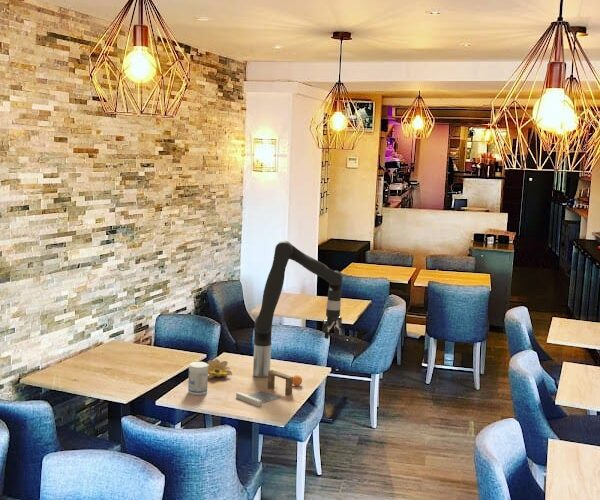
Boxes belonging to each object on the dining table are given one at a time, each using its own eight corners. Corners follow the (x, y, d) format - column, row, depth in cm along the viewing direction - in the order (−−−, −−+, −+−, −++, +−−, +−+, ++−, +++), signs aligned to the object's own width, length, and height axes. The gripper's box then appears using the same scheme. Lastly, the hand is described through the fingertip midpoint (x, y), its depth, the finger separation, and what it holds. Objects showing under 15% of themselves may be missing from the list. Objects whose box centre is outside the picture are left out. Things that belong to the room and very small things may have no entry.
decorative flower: (206, 379, 363) (206, 360, 364) (200, 377, 373) (200, 358, 375) (233, 378, 369) (233, 359, 370) (227, 377, 379) (227, 358, 380)
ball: (291, 387, 362) (292, 377, 361) (291, 383, 367) (291, 373, 367) (302, 387, 362) (302, 377, 361) (301, 383, 368) (302, 373, 367)
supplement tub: (184, 392, 348) (184, 364, 346) (198, 387, 355) (199, 360, 353) (197, 397, 342) (197, 368, 340) (211, 392, 349) (212, 364, 347)
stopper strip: (258, 406, 333) (259, 401, 332) (236, 397, 343) (236, 392, 343) (261, 405, 334) (261, 400, 334) (239, 396, 345) (239, 391, 344)
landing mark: (261, 404, 336) (261, 403, 336) (243, 396, 345) (243, 396, 345) (280, 397, 346) (280, 397, 346) (261, 390, 355) (261, 390, 355)
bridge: (288, 395, 349) (288, 378, 348) (267, 388, 359) (268, 371, 357) (292, 394, 351) (292, 376, 350) (271, 386, 361) (272, 369, 360)
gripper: (335, 304, 380) (333, 333, 383) (319, 308, 369) (317, 337, 372) (346, 307, 376) (344, 336, 378) (331, 311, 365) (328, 341, 367)
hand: (331, 337), depth 375 cm, fingers open, 8 cm apart
